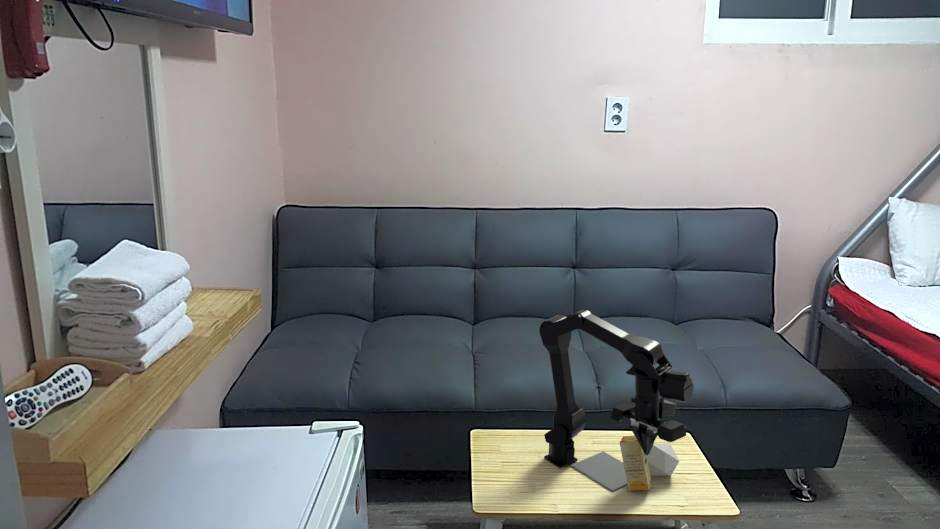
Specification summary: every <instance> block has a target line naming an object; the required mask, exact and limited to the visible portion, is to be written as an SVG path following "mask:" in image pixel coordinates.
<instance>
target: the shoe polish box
mask: <svg viewBox="0 0 940 529" xmlns="http://www.w3.org/2000/svg"><path fill="white" fill-rule="evenodd" d="M619 447H620V451H621V452H620V454H621V457H622V462H623V463H624V469H625V474H626V480H627V485H626V486H627V489H628V491H644V490H645V491H646V490H650V488H651V485H652V476H651V475H650V472H649V466H648V461H647V456H646V455H645V453H644V451H643V450H642V448H641V446H640V444H639V442H638V440H637V438H636V437H635V435H627V436H626V435H625V436H622V438H621V439H620V440H619Z"/></svg>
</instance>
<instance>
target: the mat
mask: <svg viewBox="0 0 940 529" xmlns="http://www.w3.org/2000/svg"><path fill="white" fill-rule="evenodd" d="M570 465H571V467H572V468H573V469H575V470H577V471H578V472H579V473H582V474H583V475H584V476H586V477H588V478H589V479H591V480H593V481H594V482H596V483H597V484H599V485H601V486H602V487H604V488H606V489H607V490H608V491H611V492H612V493H613V492H616V491H618V490H619V489H622V488H624V487H626V486H628V485H627V480H626V474H625V469H624V463H623V461H621V459H617V458H616V457H615V456H612V455H610V454H608V453H607V452H606V451H601V452H598V453H596V454H594V455H592V456H589V457H587V458H585V459H582V460H580V461H576V462H574V463H572V464H570Z"/></svg>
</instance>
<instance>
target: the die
mask: <svg viewBox="0 0 940 529" xmlns="http://www.w3.org/2000/svg"><path fill="white" fill-rule="evenodd" d="M672 446H673V445H672V444H671V442H667V443H661V442H660V443H658V442H657V443H655V442H654V444H653V446H652V449H651V451H650V454H649V455H646V456H647V461H648V466H649V472H650V477H672V475H673V473H674V472H675V469H677V466H678V465H679V462H680V460H679V458H678V456H677V454H676V452H675V450H674V449H673V447H672Z"/></svg>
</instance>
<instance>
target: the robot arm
mask: <svg viewBox="0 0 940 529" xmlns="http://www.w3.org/2000/svg"><path fill="white" fill-rule="evenodd" d="M578 329H579V330H580V331H583V332H584V333H585V334H587V335H589V336H591V337H594V338H595V339H597V340H598V341H601V342H602V343H604V344H605V345H607V346H609V347H611V348H613V349H614V350H616V351H618V352H619V353H620V354H622V356H623V358H625V361H627V362H628V363H629V364H630V365H631V367H630V368H628V370H626V371H625V374H626V375H630V376H634V397H633V396H632V397H631V403H633V404H634V405H633V404H631V403H628V402H624V403H621V404H619V405H615V406H613V407H612V409H611V410H610V419H611V420H614V421H615V422H621V421H623V419H624V418H627V419H629V421H630V425H629V426H628V430H631V432H632V433H633V436H635V437H636V438H637V440H638V442H639V444H640V446H641V448H642V450H643V451H644V453H645V455H649V454H650V451H651V449H652V446H653V444H654V443H655V441H656V439H657V438H659V439H660V440H662V441H666V442H667V443H673V442H676V441H677V440H680V439H682V438H685V437H687V426H686V425H685V424H683V423H681V422H678V421H676V420H673V419H671V420H668V421H666V422H665V421H663V419H666V416H670V417H671V418H672V417H673V418H674V416H675V413H676V409H677V403H675V402H673V401H677V402H680V403H685V404H687V403H690V401H691V400H692V397H693V394H694V385H695V384H694V383H693V379H692V378H691V377H690V373H689V372H687V371H681V372H680V371H676V370H672V369H673V365H672V364H671V362H670V361H669V360H668V358H667V356H666V355H665V353H664V352H663V348H662V345H661V344H660V343H659V342H658V341H657V340H654V339H650V338H647V337H645V336H639V335H633V334H630V333H628V332H626V331H624V330H622V329H620V328H619V327H617V326H615V325H613V324H611V323H609V322H608V321H606V320H604V319H602V318H601V317H599V316H597V315H595V314H592V312H591V311H589V310H587V309H581V310H579V311H577V312H574V313H571V314H569V315H566V316H565V315H562V314H556V315H554V316H552V317H550V318H548V319H546V320H544V321H543V322H541V324H540V325H539V327H538V332H539V337H540V340H541V343H542V345H543V346H544V348H545V349H546V351H547V352H548V355H549V360H550V367H551V374H552V381H553V389H554V395H555V396H554V397H555V403H556V405H555V406H556V407H555V411H554V414H553V418H552V425H553V426H552V428H551V429H550V430H548V431H547V432H546V433H545V434H544V435H543V436H544V439H545V442H546V443H547V444H548V454H545V455H544V459H545V460H546V461H548V462H549V463H551V464H552V465H554V466H556V467H558V468H559V469H562V468H564V467H567V466H569V465H573V464H575V463H577V462H578V458H577V457H575V452H576V451H575V450H576V449H575V441H574V438H575V437H577V436H578V435H579V434H580V433H581V432H582V431H583V430H584V429H585V425H586V424H587V422H588V421H587V420H586V414H585V413H586V411H585V408H584V407H579V406H578V404H577V403H576V399H575V398H576V397H575V390H574V384H573V377H572V369H571V362H570V354H569V347H570V344H571V341H572V331H576V330H578ZM657 364H658V365H659V366H657V367H655V365H657ZM669 400H671V401H669Z"/></svg>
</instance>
